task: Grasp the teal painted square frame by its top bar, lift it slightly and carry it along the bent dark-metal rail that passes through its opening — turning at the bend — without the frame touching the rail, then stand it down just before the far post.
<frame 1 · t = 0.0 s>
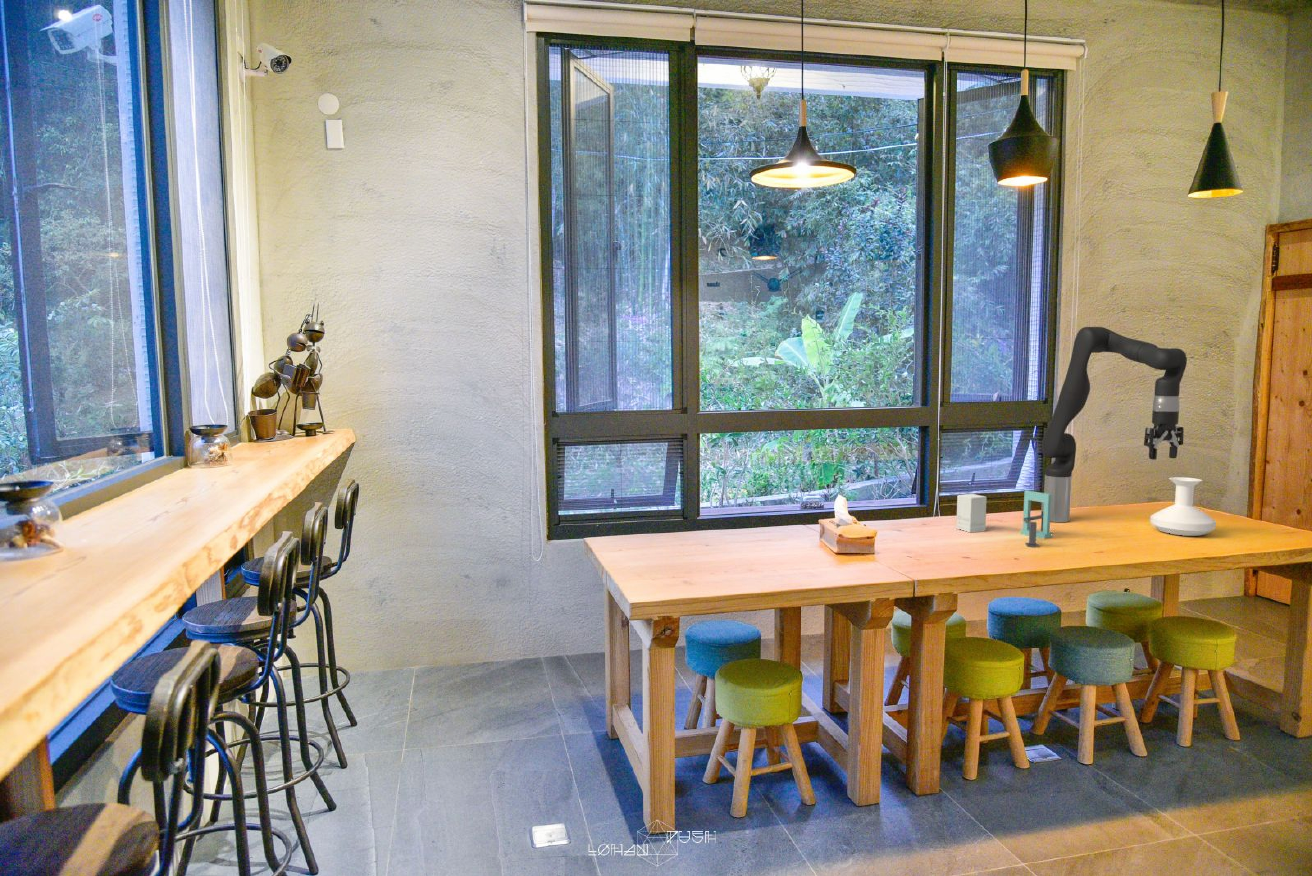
hand: (1162, 458, 289), 29 cm above the table, tool pointing down, fingers open, 8 cm apart
candle holder: (1181, 533, 313), on the table
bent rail: (1024, 538, 305), on the table
supplement box: (970, 530, 318), on the table
teal frame: (1035, 535, 308), on the table
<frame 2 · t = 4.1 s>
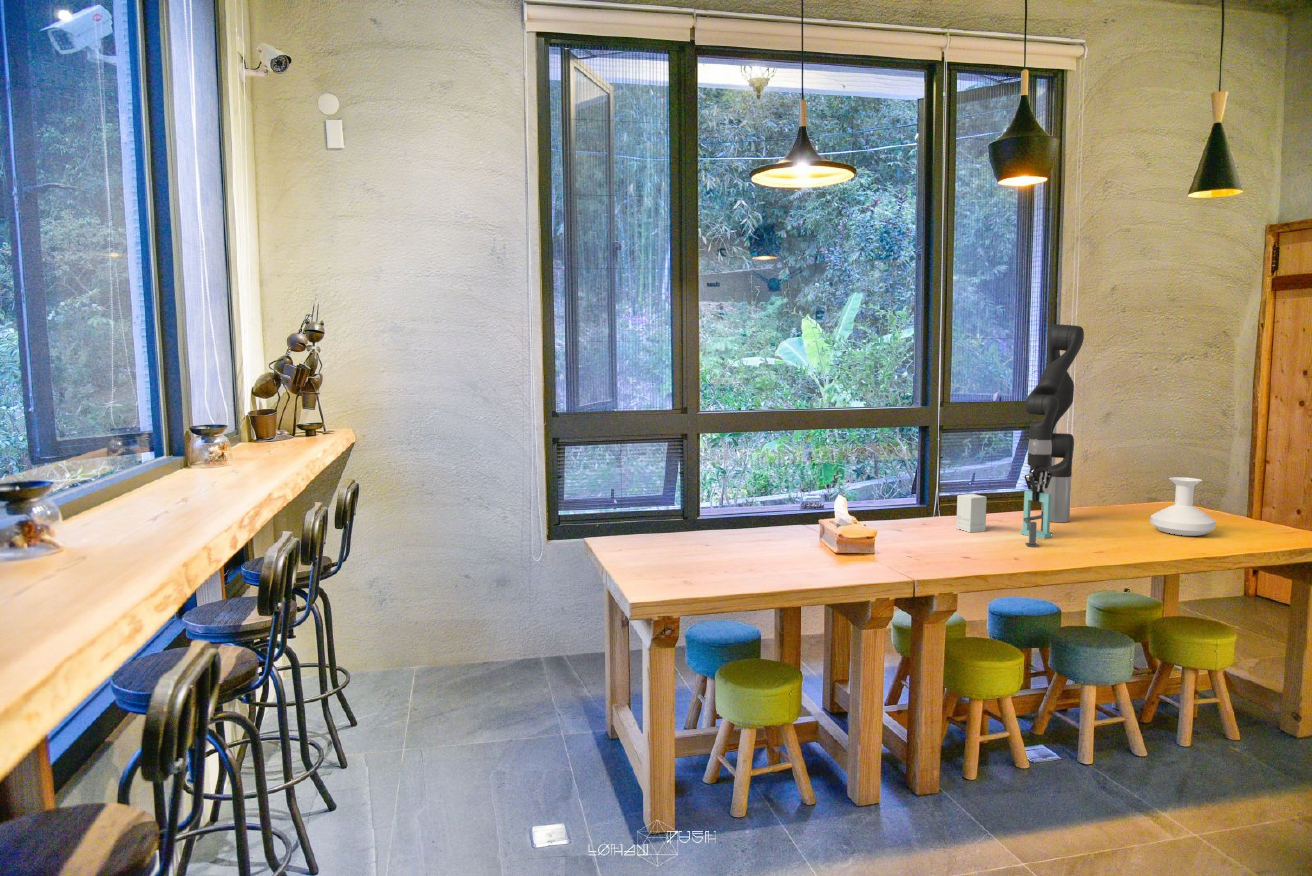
hand: (1037, 501, 307), 12 cm above the table, tool pointing down, fingers closed on teal frame
teal frame: (1035, 535, 308), on the table, touching gripper
everything else where it was.
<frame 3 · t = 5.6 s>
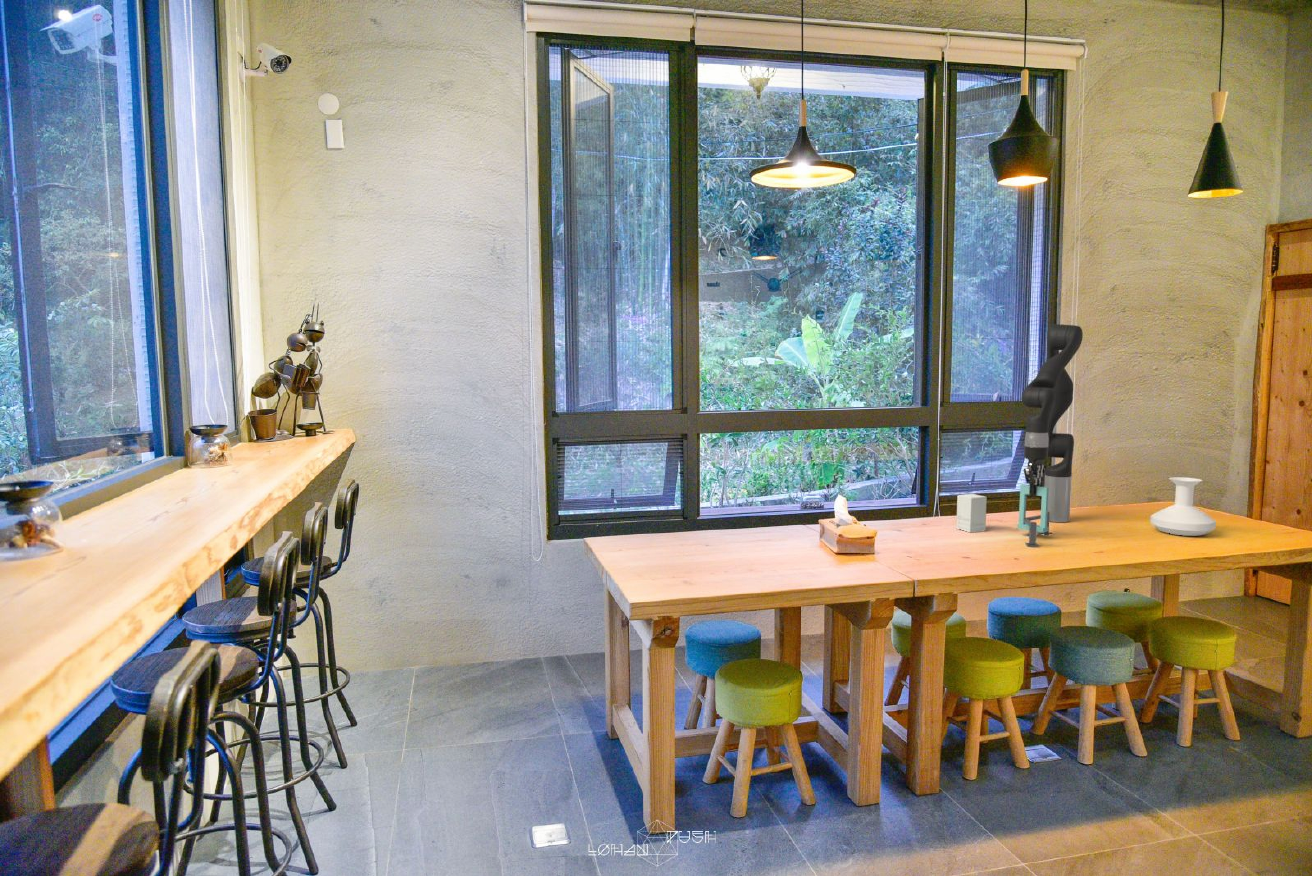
hand: (1034, 494, 305), 15 cm above the table, tool pointing down, fingers closed on teal frame
teal frame: (1032, 529, 306), point 2 cm above the table, touching gripper
everything else where it was.
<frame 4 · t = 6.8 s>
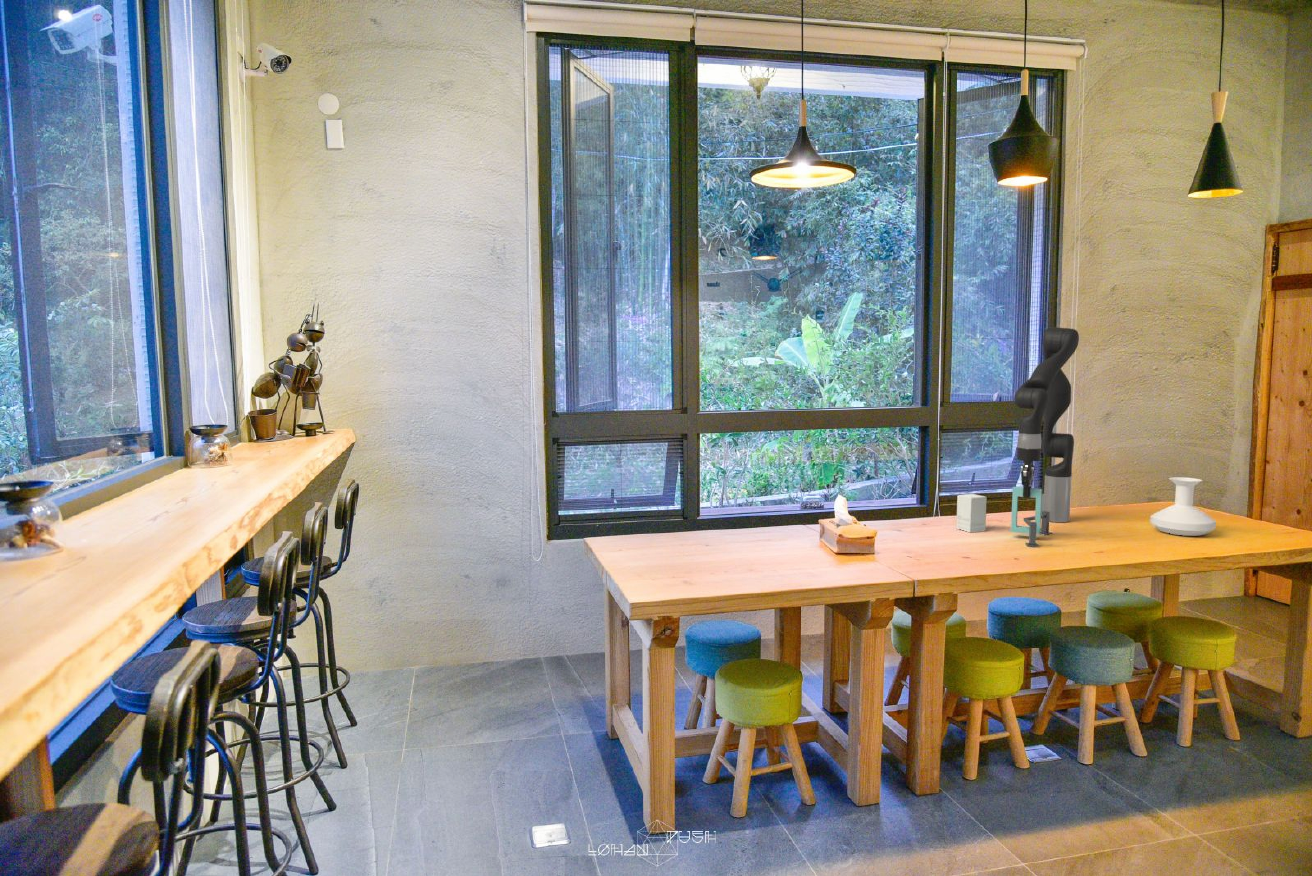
hand: (1026, 496, 303), 15 cm above the table, tool pointing down, fingers closed on teal frame
teal frame: (1025, 532, 304), point 2 cm above the table, touching gripper
everything else where it was.
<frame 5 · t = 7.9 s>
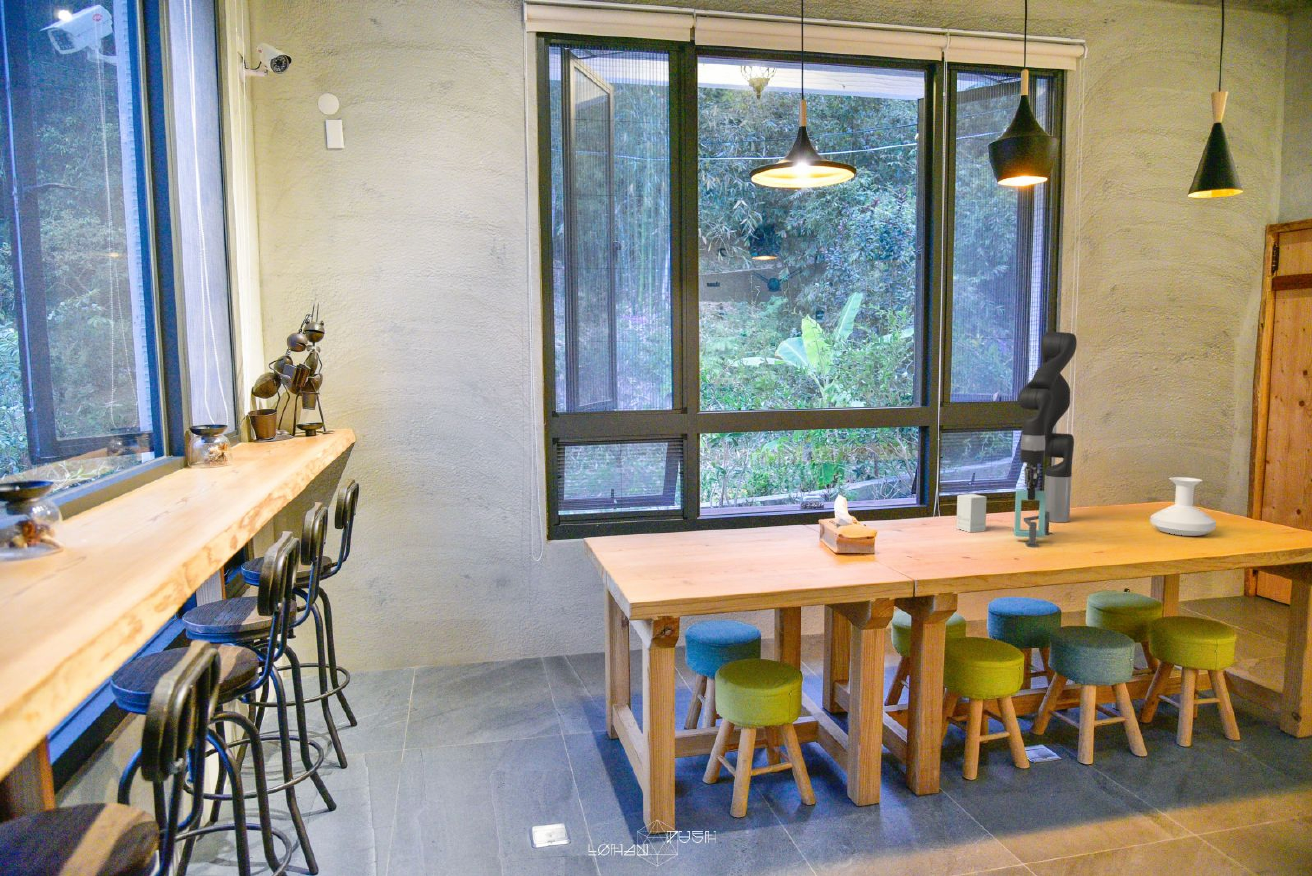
hand: (1030, 498, 297), 15 cm above the table, tool pointing down, fingers closed on teal frame
teal frame: (1029, 535, 299), point 2 cm above the table, touching gripper
everything else where it was.
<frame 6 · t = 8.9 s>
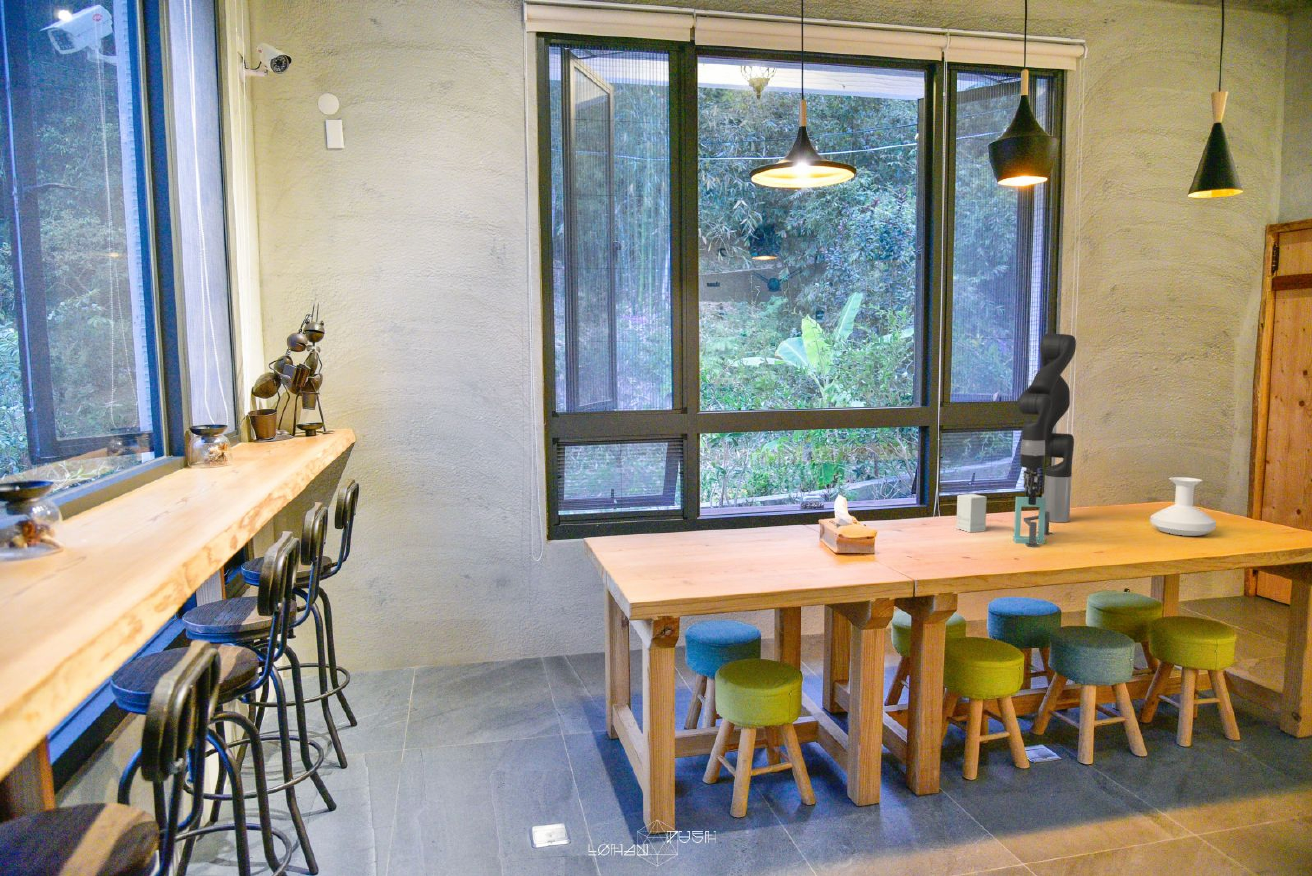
hand: (1030, 503, 297), 13 cm above the table, tool pointing down, fingers open, 4 cm apart
teal frame: (1028, 542, 298), on the table
everything else where it was.
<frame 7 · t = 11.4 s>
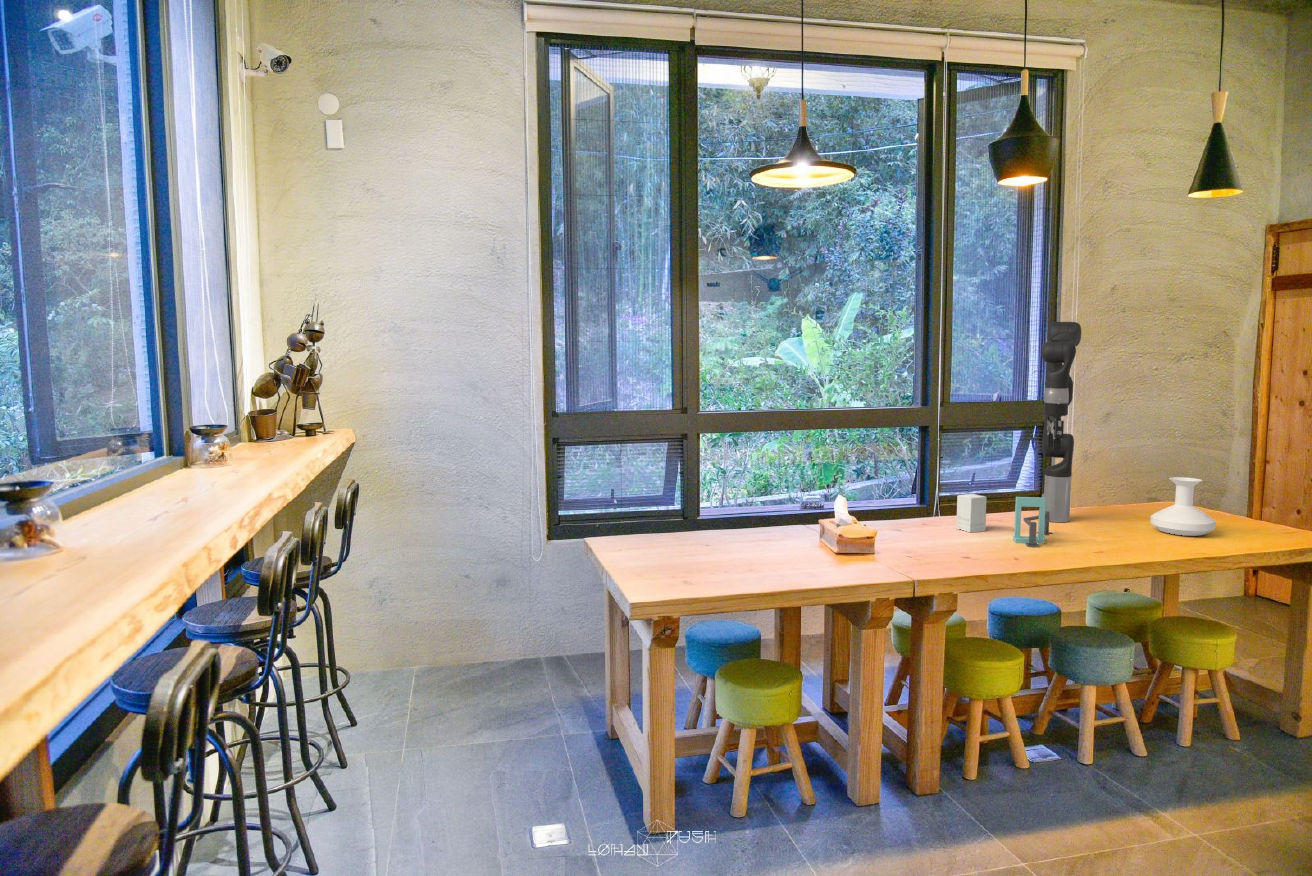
hand: (1053, 448, 300), 31 cm above the table, tool pointing down, fingers open, 8 cm apart
nothing on the table moved.
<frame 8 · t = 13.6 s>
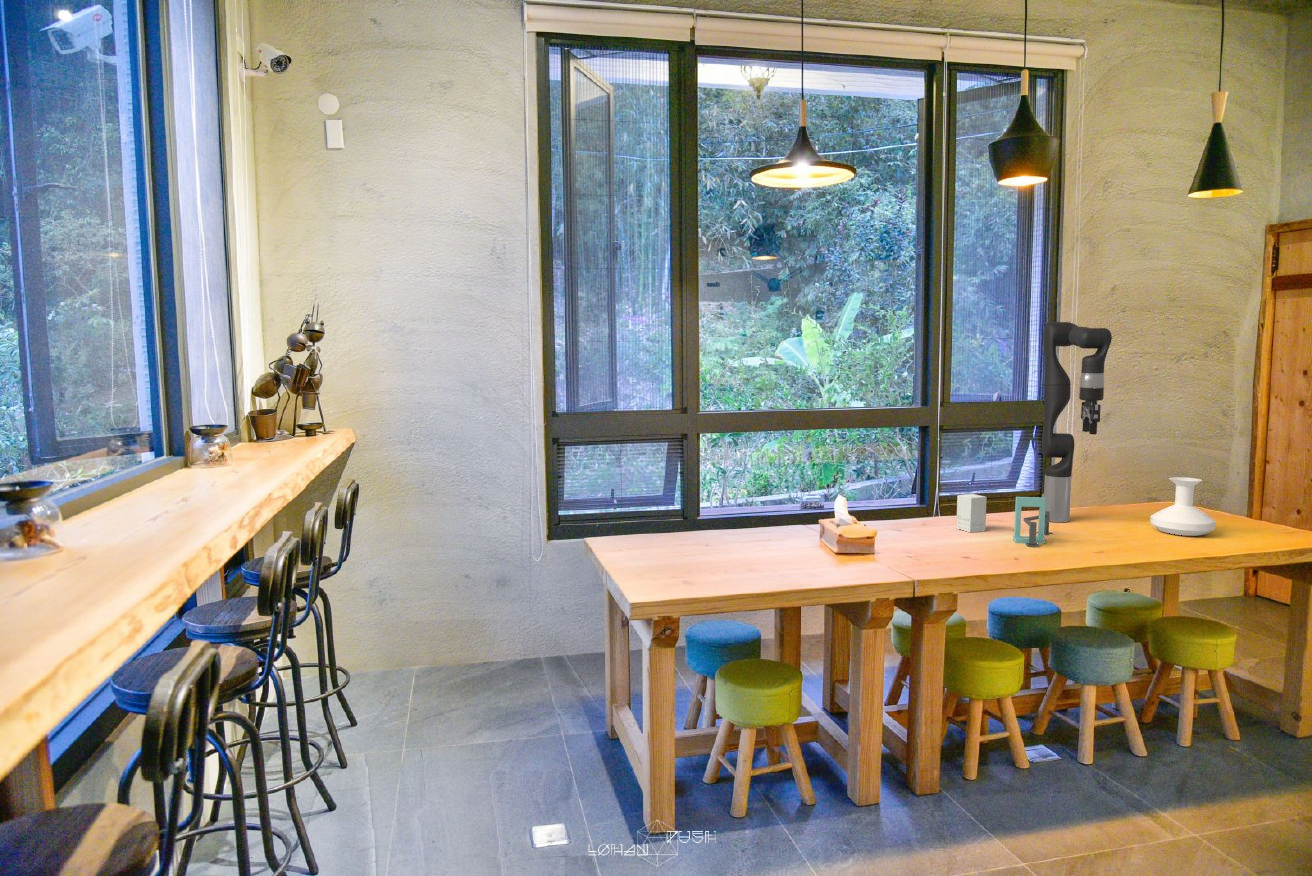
hand: (1089, 433, 305), 36 cm above the table, tool pointing down, fingers open, 8 cm apart
nothing on the table moved.
at the end: teal frame inside the target area (0.3 cm from its centre), on the table; teal frame tilted 0°; teal frame touching table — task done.
